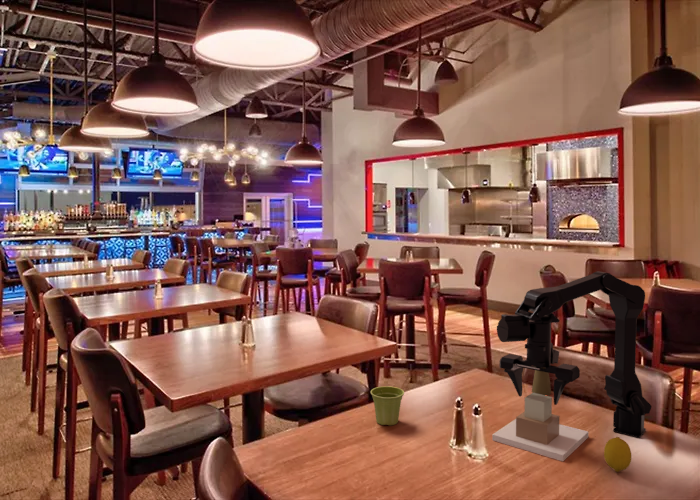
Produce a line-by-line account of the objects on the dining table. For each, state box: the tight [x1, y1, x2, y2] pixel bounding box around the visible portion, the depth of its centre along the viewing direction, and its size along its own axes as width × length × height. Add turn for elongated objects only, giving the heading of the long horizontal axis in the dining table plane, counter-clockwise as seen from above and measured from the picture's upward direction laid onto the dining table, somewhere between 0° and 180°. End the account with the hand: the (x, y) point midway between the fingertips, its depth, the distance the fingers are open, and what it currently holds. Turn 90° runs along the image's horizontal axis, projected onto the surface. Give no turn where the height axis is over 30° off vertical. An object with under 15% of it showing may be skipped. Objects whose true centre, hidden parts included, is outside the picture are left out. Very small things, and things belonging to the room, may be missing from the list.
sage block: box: [523, 392, 553, 422], centre depth 135 cm, size 5×5×5 cm
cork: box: [531, 366, 552, 396], centre depth 172 cm, size 6×6×11 cm
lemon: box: [603, 436, 633, 473], centre depth 119 cm, size 6×6×8 cm
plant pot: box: [370, 385, 405, 426], centre depth 149 cm, size 9×9×9 cm
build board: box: [491, 411, 590, 462], centre depth 137 cm, size 18×18×6 cm
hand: (537, 400), depth 135 cm, fingers open, 9 cm apart
